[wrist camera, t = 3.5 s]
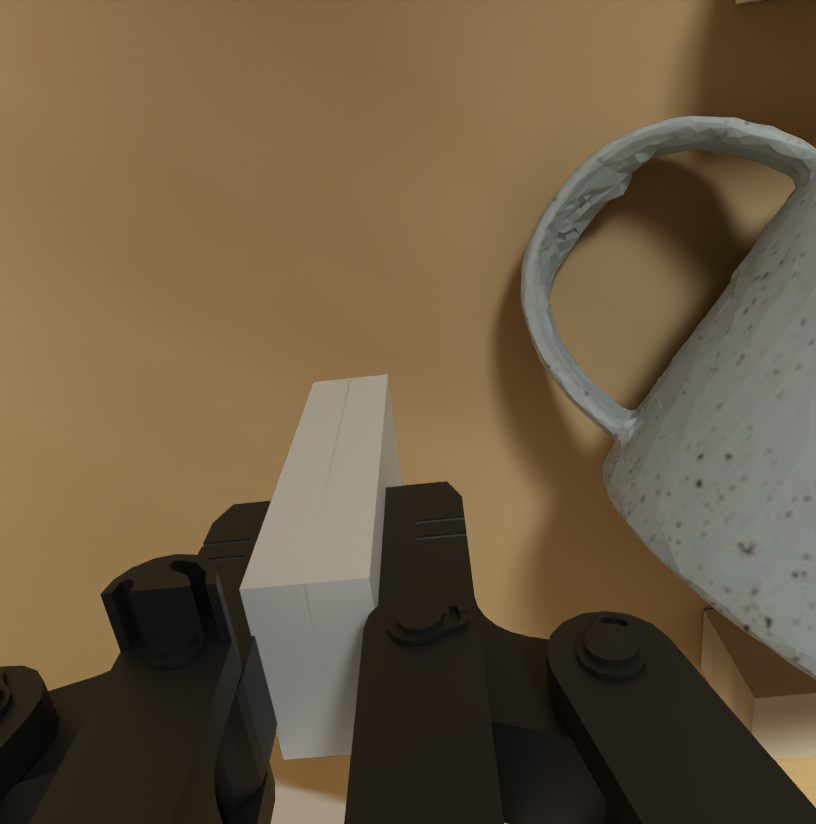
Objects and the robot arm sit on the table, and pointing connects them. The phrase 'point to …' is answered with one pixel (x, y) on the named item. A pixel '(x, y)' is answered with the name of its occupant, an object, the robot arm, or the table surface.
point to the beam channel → (760, 684)
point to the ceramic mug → (712, 394)
